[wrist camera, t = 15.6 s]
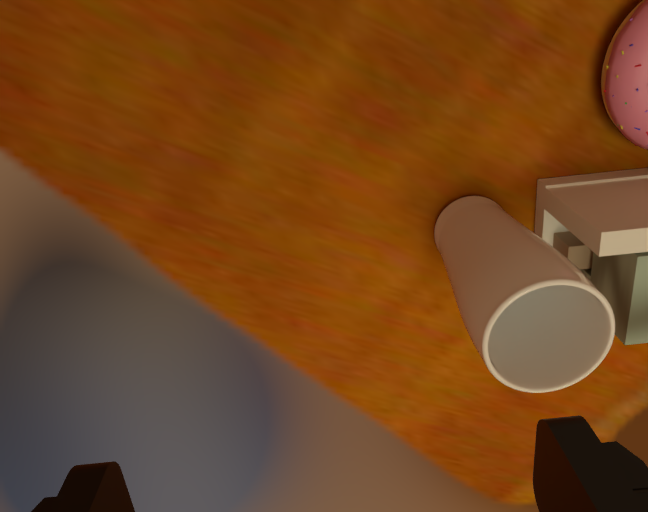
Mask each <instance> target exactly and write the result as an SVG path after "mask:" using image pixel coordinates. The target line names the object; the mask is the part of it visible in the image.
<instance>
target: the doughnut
mask: <svg viewBox="0 0 648 512" xmlns="http://www.w3.org/2000/svg"><path fill="white" fill-rule="evenodd" d="M601 90H602V97H603V102H604V105H605V108H606V111H607V113H608V115H609V117H610V119H611V120H612V122H613V123H614V124H615V126H616V127H617V128H618V129H619V130H620V132H621V133H622V134H623V135H624V136H625V137H626V138H627V139H628V140H629V141H631V142H632V143H634V144H635V146H636V145H638V146H640V147H642V148H644V149H647V150H648V0H642V1H641V2H640V3H639V4H638V5H637V6H636V7H635V8H634V9H633V10H632V11H631V12H630V13H629V14H628V16H627V17H626V18H625V19H624V21H623V22H622V23H621V25H620V26H619V28H618V29H617V31H616V33H615V34H614V36H613V38H612V40H611V42H610V45H609V47H608V50H607V52H606V55H605V59H604V63H603V68H602V75H601Z"/></svg>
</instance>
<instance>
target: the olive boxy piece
mask: <svg viewBox="0 0 648 512" xmlns="http://www.w3.org/2000/svg"><path fill="white" fill-rule="evenodd" d="M580 270H581V271H582V272H583V273H584V274H585V275H586V276H587V277H588V278H589V280H590V281H591V282H592V283H593V284H594V285H595V286H596V288H597V289H598V290H599V291H600V292H601V293H602V294H603V295H604V297H605V298H606V299H607V300H608V302H609V304H610V306H611V308H612V310H613V313H614V317H615V335H616V336H617V337H618V338H619V339H620V340H621V341H622V342H623V344H624V345H630V344H639V343H648V252H640V253H630V254H621V255H611V256H601V257H599V256H597V255H596V254H595V253H594V252H593V261H592V268H590V269H580Z"/></svg>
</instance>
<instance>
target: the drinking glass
mask: <svg viewBox="0 0 648 512" xmlns="http://www.w3.org/2000/svg"><path fill="white" fill-rule="evenodd" d="M434 239H435V243H436V246H437V248H438V250H439V252H440V254H441V256H442V259H443V262H444V265H445V268H446V271H447V274H448V277H449V280H450V283H451V286H452V289H453V292H454V295H455V299H456V302H457V305H458V308H459V311H460V314H461V317H462V319H463V322H464V324H465V327H466V329H467V331H468V333H469V335H470V338H471V340H472V342H473V343H474V345H475V347H476V349H477V351H478V352H479V354H480V356H481V357H482V359H483V361H484V362H485V364H486V366H487V368H488V369H489V371H490V372H491V373H492V375H493V376H494V377H495V378H496V379H498V380H499V381H500V382H501V383H503V384H505V385H506V386H508V387H510V388H513V389H516V390H519V391H524V392H531V393H543V392H551V391H556V390H559V389H563V388H566V387H568V386H571V385H573V384H575V383H577V382H578V381H580V380H582V379H583V378H585V377H586V376H588V375H589V374H590V373H591V372H592V371H594V370H595V369H596V368H597V367H598V365H599V364H600V363H601V362H602V361H603V359H604V358H605V356H606V355H607V353H608V351H609V350H610V348H611V345H612V342H613V339H614V335H615V317H614V313H613V310H612V308H611V306H610V304H609V302H608V300H607V299H606V298H605V297H604V295H603V294H602V293H601V292H600V291H599V290H598V289H597V288H596V286H595V285H594V284H593V283H592V282H591V281H590V280H589V278H588V277H587V276H586V275H585V274H584V273H583V272H582V271H581V270H580V269H579V268H578V267H577V266H576V265H575V264H573V263H572V262H571V261H570V260H569V259H568V258H567V257H566V256H564V255H563V254H562V253H561V252H559V251H558V250H557V249H555V248H554V247H553V246H551V245H550V244H549V243H547V242H546V241H544V240H543V239H542V238H540V237H539V236H538V235H536V234H535V233H533V232H532V231H531V230H529V229H528V228H527V227H525V226H524V225H522V224H521V223H520V222H518V221H517V220H516V219H514V218H513V217H512V216H510V215H509V214H508V213H507V212H505V211H504V210H503V208H502V207H501V206H499V205H498V204H497V203H496V202H494V201H493V200H491V199H489V198H486V197H482V196H466V197H463V198H460V199H457V200H455V201H454V202H452V203H451V204H449V205H448V206H447V207H446V208H445V209H444V210H443V211H442V212H441V214H440V215H439V217H438V219H437V221H436V224H435V229H434Z"/></svg>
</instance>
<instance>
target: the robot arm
mask: <svg viewBox="0 0 648 512" xmlns="http://www.w3.org/2000/svg"><path fill="white" fill-rule="evenodd" d="M533 488H534V494H535V499H536V503H537V506H538V509H539V512H648V467H647V466H646V465H645V463H644V462H643V461H642V460H640V459H639V458H638V457H637V456H635V455H634V454H633V453H631V452H630V451H629V450H627V449H626V448H625V447H623V446H622V445H620V444H619V443H618V442H616V441H615V442H606V443H601V442H600V440H599V439H598V437H597V436H596V434H595V433H594V431H593V430H592V428H591V427H590V425H589V424H588V422H587V421H586V420H585V419H584V418H583V417H582V416H571V417H561V418H551V419H541V420H539V422H538V424H537V430H536V444H535V457H534V470H533ZM31 512H135V511H134V507H133V504H132V501H131V498H130V495H129V492H128V489H127V486H126V483H125V480H124V477H123V474H122V471H121V469H120V466H119V464H118V463H116V462H105V463H95V464H85V465H76V466H74V467H73V468H72V469H71V470H70V471H69V473H68V475H67V477H66V479H65V481H64V483H63V485H62V487H61V489H60V491H59V493H58V496H57V497H47V498H44V499H43V500H42V501H41V502H40V503H39V504H38V505H37V506H36V507H35V508H34V509H33V510H32V511H31Z"/></svg>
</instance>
